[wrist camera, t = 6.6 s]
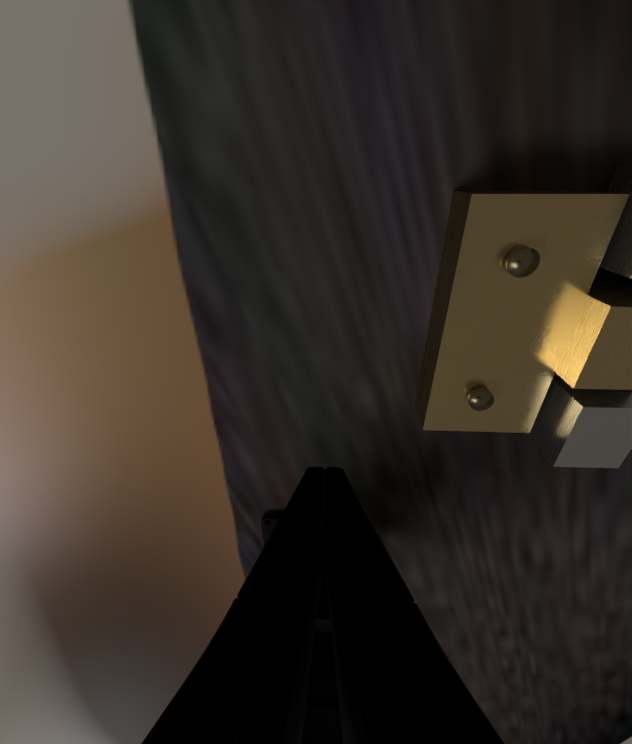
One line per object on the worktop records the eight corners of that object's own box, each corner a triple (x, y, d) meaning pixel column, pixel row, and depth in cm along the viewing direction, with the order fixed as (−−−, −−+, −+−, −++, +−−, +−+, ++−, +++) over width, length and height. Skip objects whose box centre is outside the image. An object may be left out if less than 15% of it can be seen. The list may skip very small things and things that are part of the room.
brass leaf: (566, 408, 21) (612, 453, 18) (413, 404, 22) (429, 448, 18) (668, 190, 15) (767, 196, 12) (452, 190, 15) (487, 196, 12)
